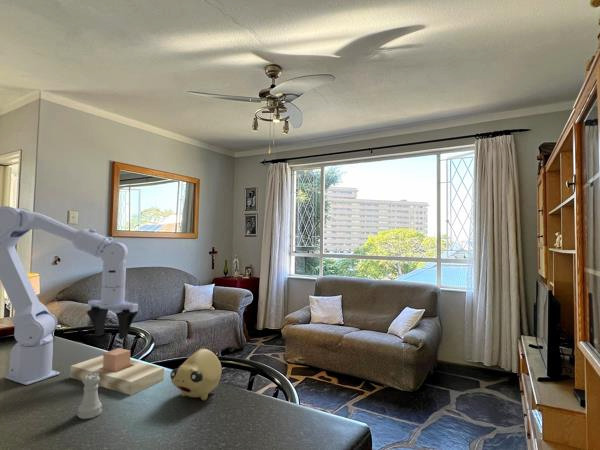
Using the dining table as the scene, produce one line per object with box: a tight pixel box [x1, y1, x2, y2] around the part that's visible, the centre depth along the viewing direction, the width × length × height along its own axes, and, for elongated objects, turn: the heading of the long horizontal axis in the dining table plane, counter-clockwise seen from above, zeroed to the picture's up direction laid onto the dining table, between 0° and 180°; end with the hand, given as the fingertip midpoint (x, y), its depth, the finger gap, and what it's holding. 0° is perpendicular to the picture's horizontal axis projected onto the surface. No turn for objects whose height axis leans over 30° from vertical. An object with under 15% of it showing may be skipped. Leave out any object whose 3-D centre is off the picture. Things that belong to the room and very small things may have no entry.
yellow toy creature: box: [170, 348, 222, 401], centre depth 82 cm, size 10×12×11 cm
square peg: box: [102, 347, 131, 373], centre depth 91 cm, size 4×4×7 cm
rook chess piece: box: [76, 373, 103, 420], centre depth 73 cm, size 4×4×8 cm
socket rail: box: [69, 355, 165, 396], centre depth 91 cm, size 22×10×3 cm, turn 66°
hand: (111, 336), depth 96 cm, fingers open, 7 cm apart
